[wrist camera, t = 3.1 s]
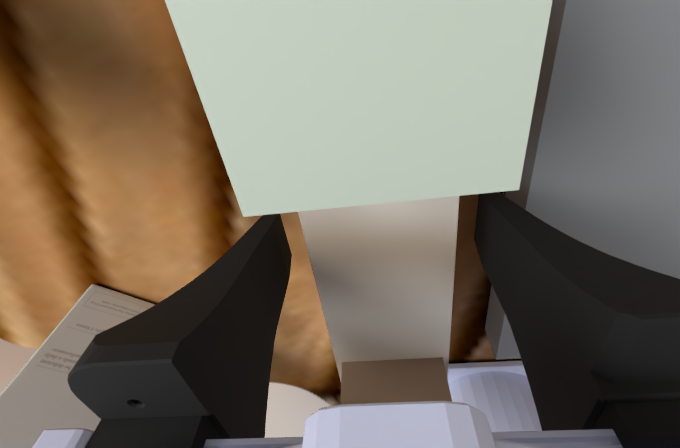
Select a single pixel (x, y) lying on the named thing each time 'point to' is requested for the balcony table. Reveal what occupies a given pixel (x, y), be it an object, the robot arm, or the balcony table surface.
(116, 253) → the balcony table surface
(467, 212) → the balcony table surface
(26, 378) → the supplement box
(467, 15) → the block
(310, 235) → the pallet
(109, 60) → the balcony table surface
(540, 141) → the loading dock
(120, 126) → the balcony table surface
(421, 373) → the brown cube
